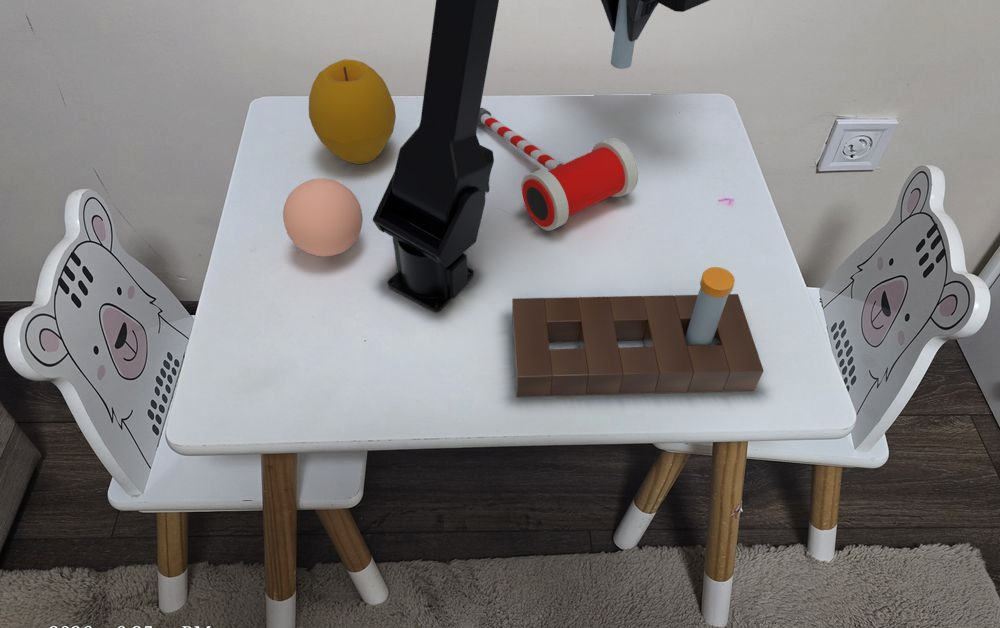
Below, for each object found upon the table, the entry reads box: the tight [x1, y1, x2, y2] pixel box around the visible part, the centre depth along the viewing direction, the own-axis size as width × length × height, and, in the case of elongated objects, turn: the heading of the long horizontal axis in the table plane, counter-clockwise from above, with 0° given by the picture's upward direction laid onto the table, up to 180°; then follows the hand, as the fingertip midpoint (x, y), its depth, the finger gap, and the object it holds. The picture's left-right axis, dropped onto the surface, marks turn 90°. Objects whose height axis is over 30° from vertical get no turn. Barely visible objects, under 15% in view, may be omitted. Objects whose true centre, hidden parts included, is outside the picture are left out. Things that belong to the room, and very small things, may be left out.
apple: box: [308, 58, 397, 165], centre depth 86 cm, size 10×10×12 cm
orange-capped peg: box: [685, 266, 736, 346], centre depth 67 cm, size 3×3×10 cm
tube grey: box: [610, 0, 636, 70], centre depth 85 cm, size 3×3×10 cm
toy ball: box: [282, 177, 364, 257], centre depth 77 cm, size 8×8×8 cm
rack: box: [511, 293, 764, 397], centre depth 70 cm, size 22×9×3 cm, turn 92°
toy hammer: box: [477, 107, 639, 232], centre depth 87 cm, size 23×12×6 cm, turn 35°
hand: (624, 35), depth 86 cm, fingers closed on tube grey, 2 cm apart
